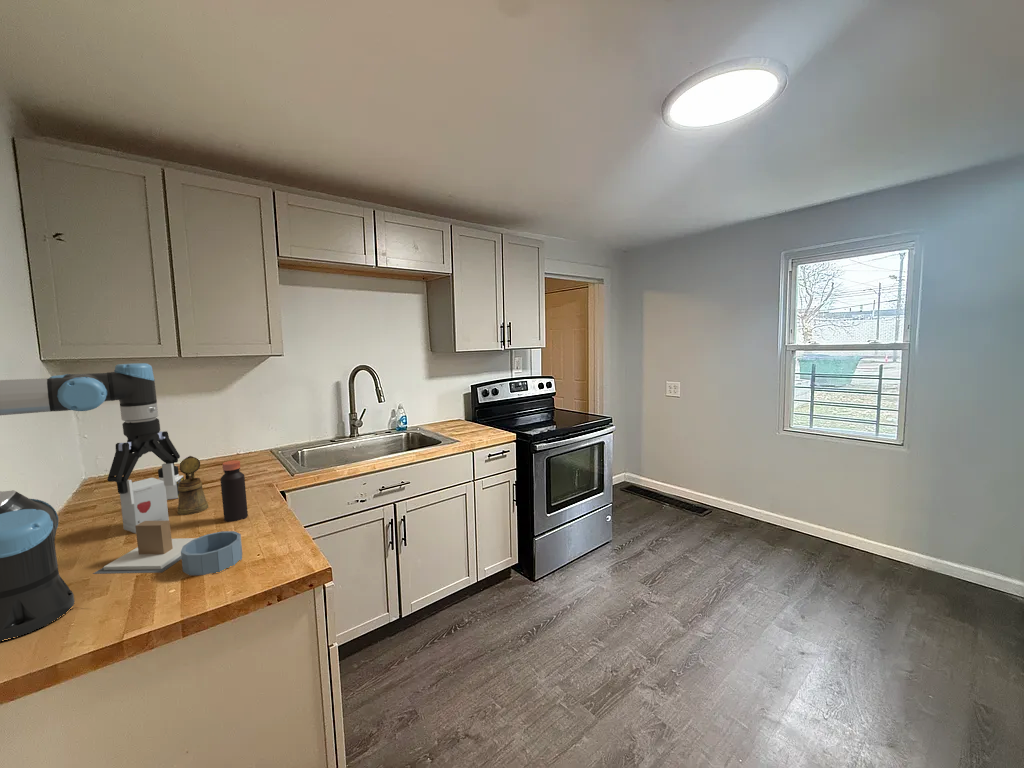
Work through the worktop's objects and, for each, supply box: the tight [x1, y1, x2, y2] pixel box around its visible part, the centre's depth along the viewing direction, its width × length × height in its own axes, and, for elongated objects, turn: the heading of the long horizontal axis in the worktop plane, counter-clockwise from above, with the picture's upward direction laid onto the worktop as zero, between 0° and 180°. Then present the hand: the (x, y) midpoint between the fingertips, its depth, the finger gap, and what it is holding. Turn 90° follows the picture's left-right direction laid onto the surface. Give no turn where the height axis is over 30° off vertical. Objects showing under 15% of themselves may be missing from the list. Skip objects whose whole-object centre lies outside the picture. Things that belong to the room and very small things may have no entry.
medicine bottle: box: [157, 465, 185, 501], centre depth 160 cm, size 7×7×12 cm
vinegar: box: [220, 459, 249, 523], centre depth 139 cm, size 7×7×20 cm
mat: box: [92, 556, 182, 575], centre depth 116 cm, size 18×18×1 cm
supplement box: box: [119, 477, 170, 534], centre depth 134 cm, size 9×9×15 cm
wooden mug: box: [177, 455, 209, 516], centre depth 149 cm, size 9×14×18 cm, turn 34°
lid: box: [103, 520, 197, 570], centre depth 116 cm, size 15×15×10 cm
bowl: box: [181, 530, 243, 576], centre depth 112 cm, size 13×13×6 cm
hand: (150, 494), depth 114 cm, fingers open, 13 cm apart
